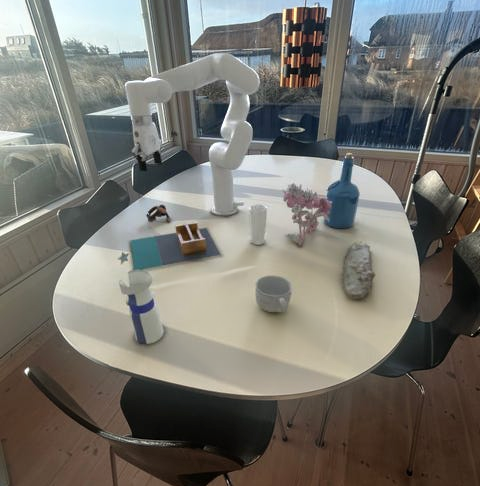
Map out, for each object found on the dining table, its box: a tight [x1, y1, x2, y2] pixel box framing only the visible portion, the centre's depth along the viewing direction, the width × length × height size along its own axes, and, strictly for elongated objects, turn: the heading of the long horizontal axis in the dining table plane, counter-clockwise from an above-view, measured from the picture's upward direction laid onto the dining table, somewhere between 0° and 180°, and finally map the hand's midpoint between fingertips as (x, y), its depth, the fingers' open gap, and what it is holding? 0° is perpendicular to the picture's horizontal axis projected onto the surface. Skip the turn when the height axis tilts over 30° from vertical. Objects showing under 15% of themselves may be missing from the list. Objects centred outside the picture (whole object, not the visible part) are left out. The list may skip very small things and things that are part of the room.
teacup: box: [254, 275, 293, 313], centre depth 95 cm, size 14×11×8 cm
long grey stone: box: [341, 241, 376, 300], centre depth 111 cm, size 35×5×10 cm
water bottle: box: [117, 251, 165, 345], centre depth 83 cm, size 8×9×25 cm
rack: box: [174, 221, 207, 256], centre depth 129 cm, size 9×16×6 cm, turn 18°
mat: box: [130, 227, 221, 270], centre depth 129 cm, size 32×24×1 cm
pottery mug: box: [145, 204, 171, 223], centre depth 149 cm, size 12×10×8 cm
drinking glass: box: [248, 204, 268, 246], centre depth 127 cm, size 7×7×15 cm
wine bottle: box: [323, 152, 361, 229], centre depth 136 cm, size 14×13×30 cm
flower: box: [281, 182, 332, 247], centre depth 130 cm, size 20×22×25 cm
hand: (151, 167), depth 128 cm, fingers open, 9 cm apart
